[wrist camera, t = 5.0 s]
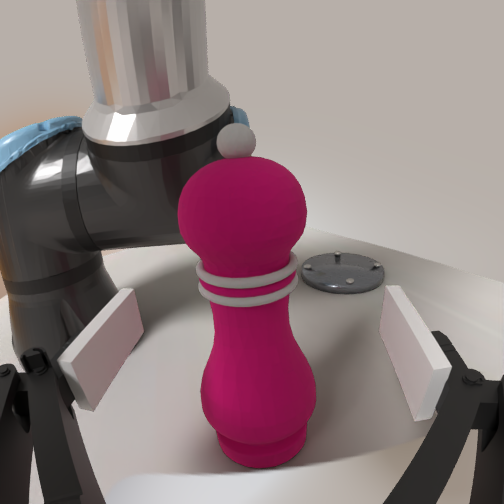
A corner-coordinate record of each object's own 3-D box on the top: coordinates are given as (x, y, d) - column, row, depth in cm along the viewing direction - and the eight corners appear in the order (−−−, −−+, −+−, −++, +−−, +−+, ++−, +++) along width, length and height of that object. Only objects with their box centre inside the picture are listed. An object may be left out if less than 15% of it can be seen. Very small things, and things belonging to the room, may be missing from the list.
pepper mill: (315, 473, 17) (327, 112, 10) (204, 472, 17) (125, 133, 11) (310, 399, 23) (308, 122, 17) (220, 400, 24) (180, 133, 17)
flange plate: (304, 295, 41) (304, 284, 40) (299, 260, 52) (299, 251, 51) (393, 292, 39) (395, 280, 39) (371, 259, 51) (372, 249, 50)
